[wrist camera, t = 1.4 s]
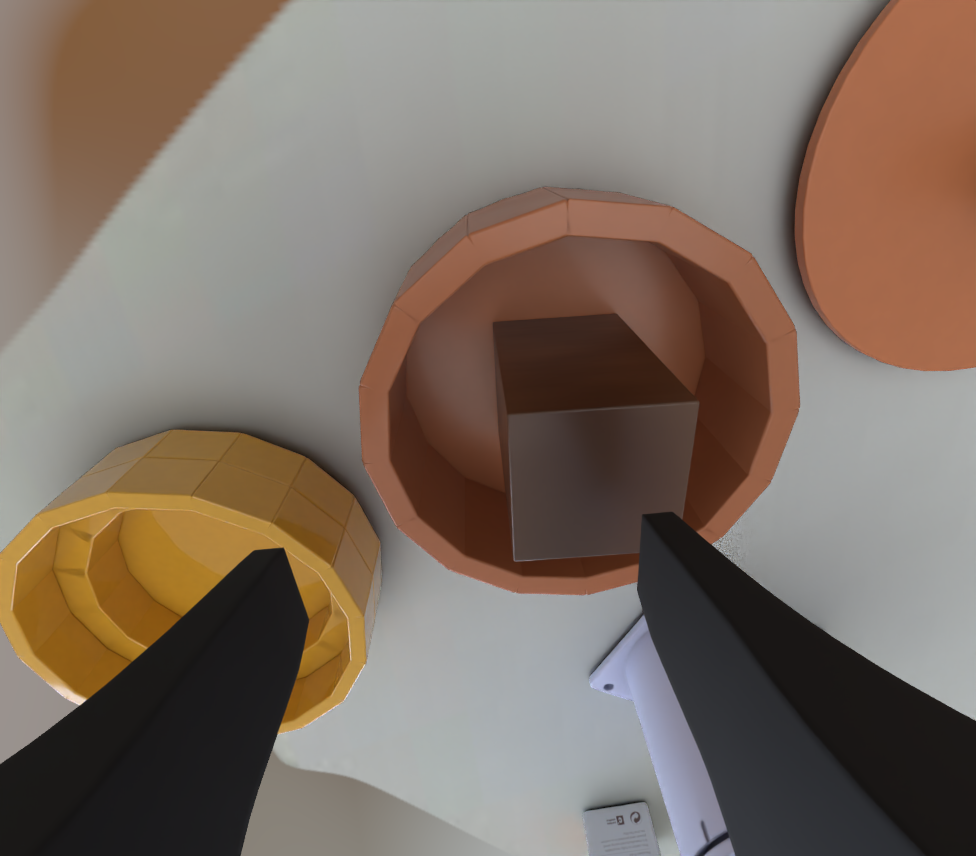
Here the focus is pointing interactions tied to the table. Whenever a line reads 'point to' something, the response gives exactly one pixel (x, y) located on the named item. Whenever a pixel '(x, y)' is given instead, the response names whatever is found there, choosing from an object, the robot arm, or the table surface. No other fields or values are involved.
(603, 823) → the cosmetic box
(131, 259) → the table surface
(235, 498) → the bowl
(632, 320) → the pot
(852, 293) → the lid
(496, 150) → the table surface
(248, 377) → the table surface
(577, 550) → the walnut block
